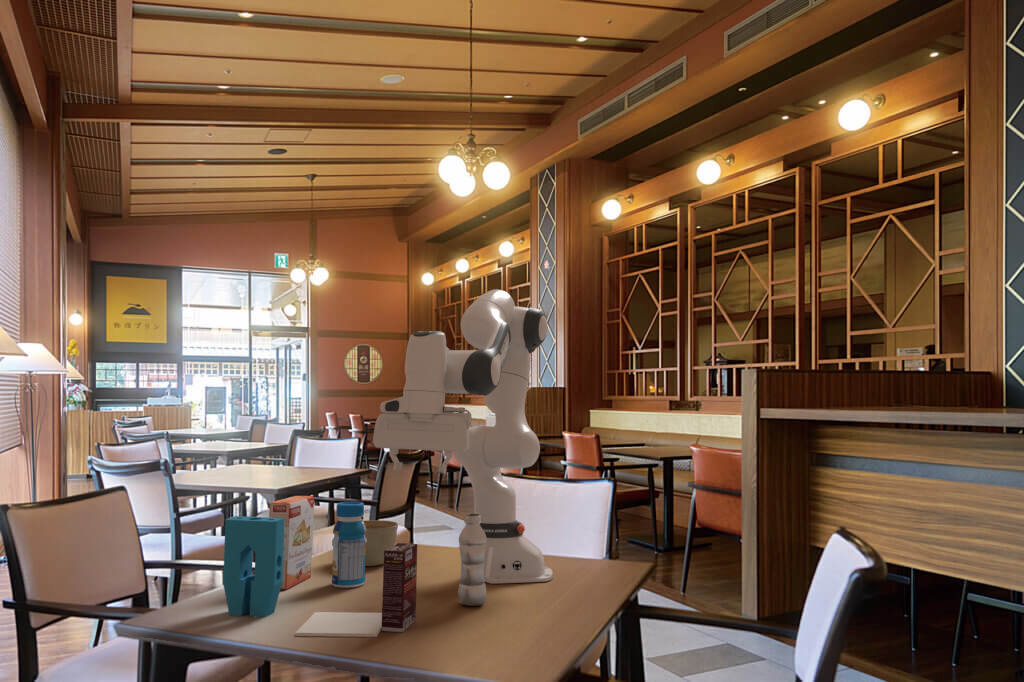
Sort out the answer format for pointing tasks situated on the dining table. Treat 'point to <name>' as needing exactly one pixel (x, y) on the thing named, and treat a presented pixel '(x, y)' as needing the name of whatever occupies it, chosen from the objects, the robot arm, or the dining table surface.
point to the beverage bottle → (349, 546)
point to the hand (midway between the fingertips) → (419, 472)
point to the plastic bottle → (472, 562)
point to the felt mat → (342, 624)
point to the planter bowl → (379, 540)
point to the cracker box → (295, 537)
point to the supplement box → (399, 587)
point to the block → (238, 579)
